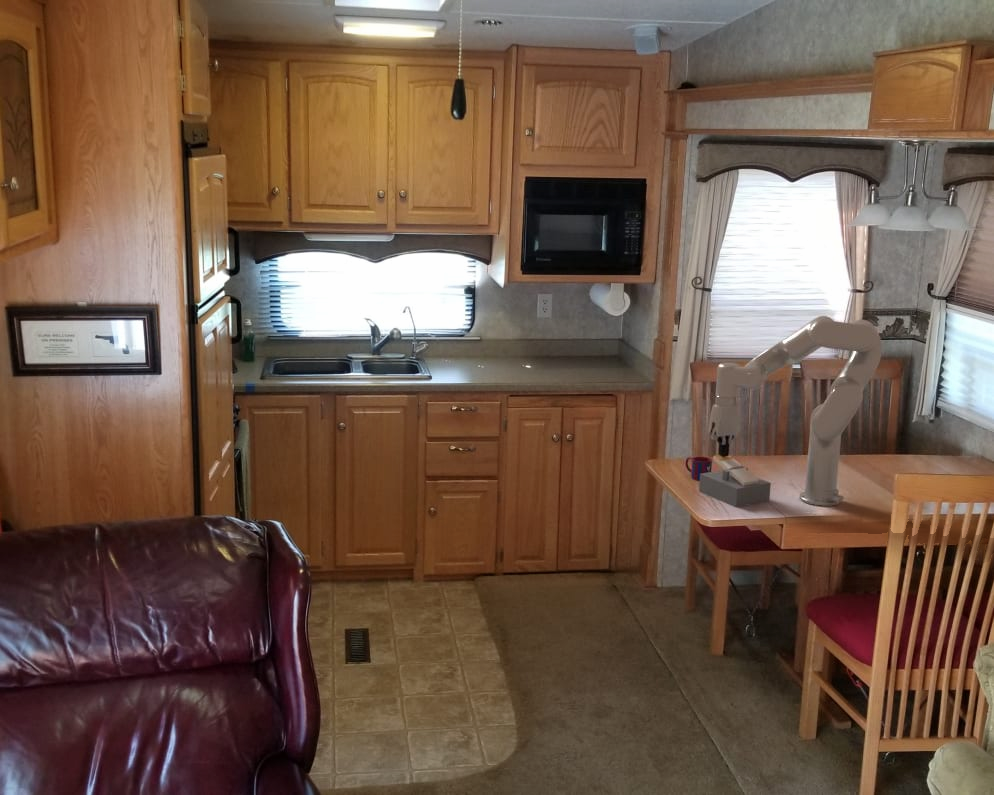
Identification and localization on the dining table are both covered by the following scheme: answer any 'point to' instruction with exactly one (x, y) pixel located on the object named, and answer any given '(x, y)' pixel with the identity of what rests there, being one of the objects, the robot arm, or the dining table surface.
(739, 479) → the rocker
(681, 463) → the dining table surface
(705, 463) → the mug
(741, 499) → the switch box
